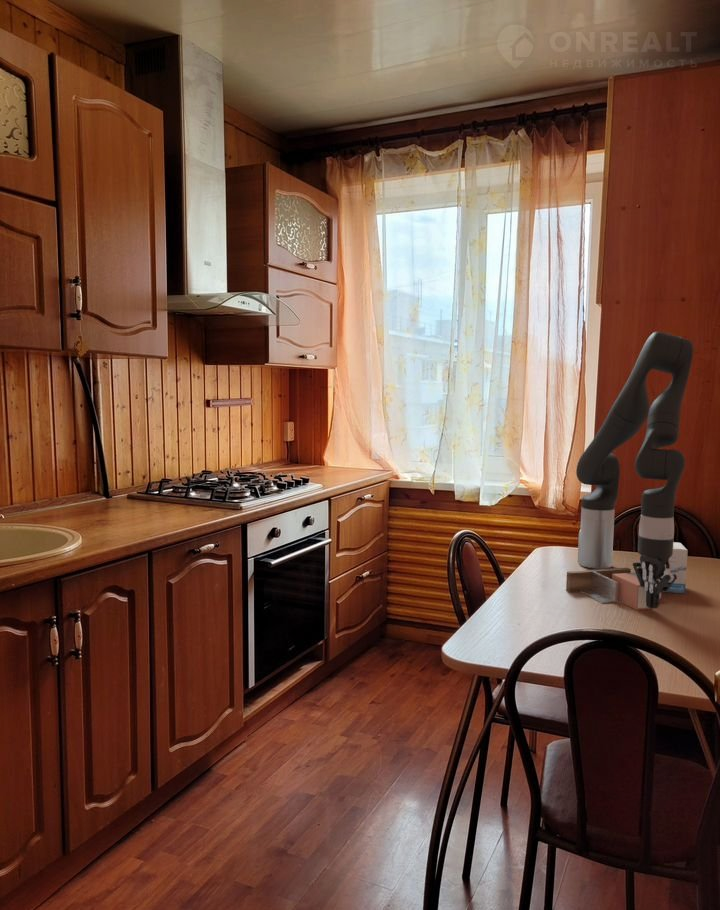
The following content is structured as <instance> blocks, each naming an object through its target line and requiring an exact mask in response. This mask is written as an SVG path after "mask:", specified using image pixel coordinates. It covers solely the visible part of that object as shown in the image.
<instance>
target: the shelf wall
mask: <svg viewBox="0 0 720 910" xmlns="http://www.w3.org/2000/svg"><path fill="white" fill-rule="evenodd" d="M631 570H632V568H629V567H618V568H617V567H616V568H607V569H589V570H588V569H587V570H572V571H567V572H566V586H565V589H566V590H565V591H566V592H567V593H578V592H579V590H586V589H591V588H592V572H597V573H599V574H601V575H604V576H606V577H608V578H610V579H612V574H620V573H632V571H631ZM579 593H580V592H579Z"/></svg>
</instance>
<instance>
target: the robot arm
mask: <svg viewBox="0 0 720 910" xmlns="http://www.w3.org/2000/svg"><path fill="white" fill-rule="evenodd" d="M694 351H695V350H694V344H693V342H692V341H691V340H690V339H687V338H684V337H682V336H678V335H674V334H670V333H666V332H662V331H654V332H652V334H650V335H649V337H648V338H647V339H646V341H645V343H644V344H643V346H642V349H641V351H640V352H639V354H638V358H637V359H636V362H635V364H634V367H633V368H632V370H631V372H630V374H629V377H628V379H627V381H626V382H625V384H624V385H623V388H621V389H622V390H621V391H620V393H619V394H618V396H617V397H616V399H615V401H614V402H613V404H612V406H611V408H610V410H609V412H608V414H607V416H606V418H605V419H604V420H603V423H602V425H601V426H600V428H599V430H598V431H597V433H596V434H595V436H594V438H593V439H592V441H591V442H590V443H589V445H588V446H587V447H586V449H585V450H584V452H583V453H582V454H581V456H580V458H579V459H578V462H577V466H576V470H575V471H576V472H575V473H576V477H577V479H578V481H579V482H580V483H581V484H582V485H587V486H596V488H595V489H594V490H593V491H592V492H590V493H589V494H585V495H584V496H583V497H582V499H581V507H580V508H581V509H580V512H581V513H580V530H579V531H578V542H577V543H578V544H577V545H578V546H577V548H578V549H577V562H578V565H580V566H582V567H583V568H589V569H593V570H599V569H612V565H613V551H614V550H613V548H614V547H613V546H614V534H615V533H614V529H615V506H616V503H617V500H618V497H619V495H618V494H619V486H620V477H621V468H620V466H621V465H620V461H619V459H618V456H616V455H615V454H614V453H612V452H614V451H616V449H618V448H619V447H621V446H623V445H625V444H626V443H627V442H629V440H631V439H633V438H634V437H635V436H636V435H637V434H638V433H639V432H640V431H641V428H642V427H643V426H644V424H645V422H646V420H647V422H646V432H645V435H644V436H645V437H644V440H643V442H642V445H641V447H640V449H639V450H638V453H637V455H636V458H635V461H634V469H635V473H636V475H638V476H639V477H640V478H642V479H645V480H657V481H658V480H659V481H666V484H665V485H664V486H662V487H657V488H651V489H646V490H643V492H642V494H641V504H640V517H639V522H638V524H639V525H638V536H637V537H638V541H637V553H638V555H640V557H639V560H638V562H633V563H632V568H633V569H634V572H636V575H637V578H638V580H639V583H640V585H641V586H644V587H645V590H646V606H647V607H649V608H651V609H653V610H654V609H658V608H659V605H660V599H659V595H660V593H661V594H662V593H668V592H667V590H668V589H669V588H670V586H671V585H672V584H673V583H674V581H675V580H676V579H677V576H676V575H675V574H672V573H671V572H670V570H669V568H670V564H669V558H670V557H671V556H672V555H673V542H674V540H675V539H674V537H675V522H674V520H675V519H674V518H675V516H674V515H675V503H676V497H677V496H676V495H677V490H678V488H679V484H680V481H681V479H682V476H683V474H684V473H685V468H686V457H685V455H684V454H683V453H682V451H680V450H679V449H666V447H671V446H673V445H674V444H676V443H677V441H678V440H679V438H680V437H679V436H680V435H679V434H680V423H681V410H682V405H683V401H684V396H685V393H686V389H687V388H686V387H687V385H688V381H689V377H690V372H691V367H692V364H693V359H694V353H695V352H694ZM652 370H654V371H659V372H662V373H667V374H669V375H671V381H670V383H669V385H668V386H667V387H666V389H665V390H664V391H662V393H660V394H659V395H658V396H657V397H656V399H654V400H653V402H652V403H651V405H650V398H649V394H648V389H647V378H648V375H649V374H650V372H651V371H652ZM662 448H663V449H662ZM664 448H665V449H664Z"/></svg>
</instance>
